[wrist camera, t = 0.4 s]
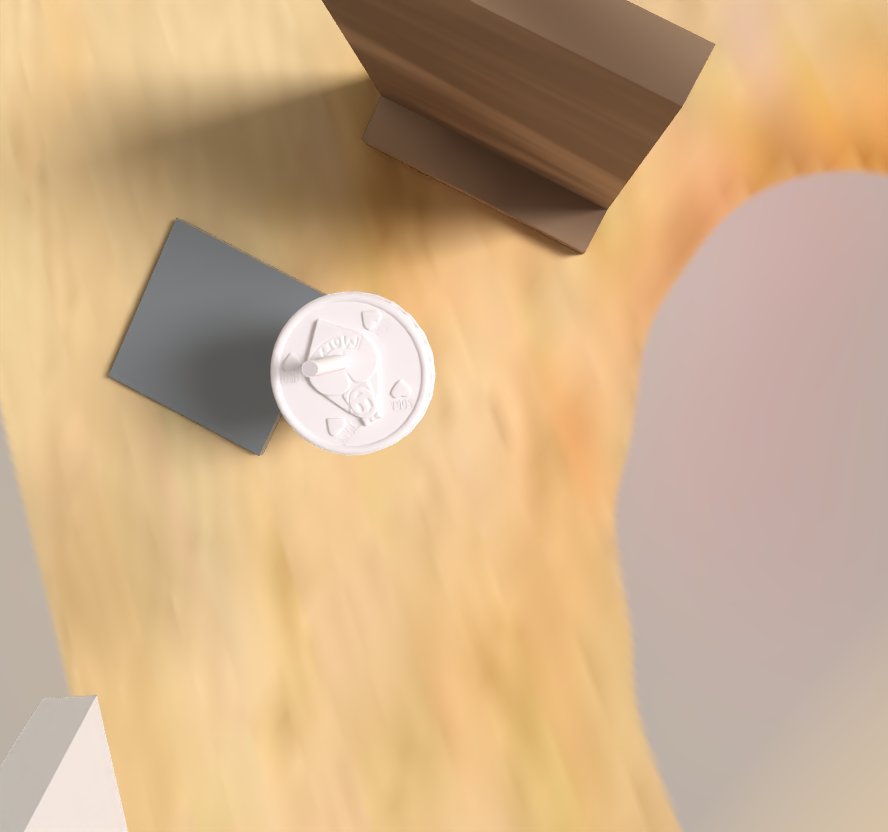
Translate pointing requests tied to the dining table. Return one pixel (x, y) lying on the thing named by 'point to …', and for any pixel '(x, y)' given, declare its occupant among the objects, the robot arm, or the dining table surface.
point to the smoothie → (352, 373)
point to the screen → (523, 97)
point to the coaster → (211, 335)
